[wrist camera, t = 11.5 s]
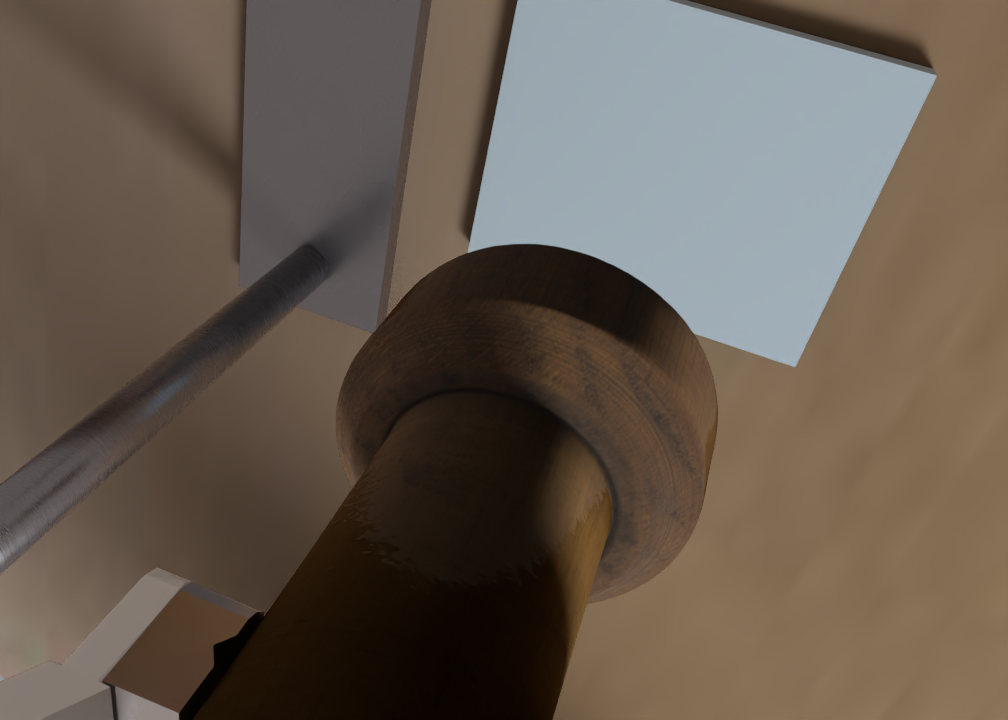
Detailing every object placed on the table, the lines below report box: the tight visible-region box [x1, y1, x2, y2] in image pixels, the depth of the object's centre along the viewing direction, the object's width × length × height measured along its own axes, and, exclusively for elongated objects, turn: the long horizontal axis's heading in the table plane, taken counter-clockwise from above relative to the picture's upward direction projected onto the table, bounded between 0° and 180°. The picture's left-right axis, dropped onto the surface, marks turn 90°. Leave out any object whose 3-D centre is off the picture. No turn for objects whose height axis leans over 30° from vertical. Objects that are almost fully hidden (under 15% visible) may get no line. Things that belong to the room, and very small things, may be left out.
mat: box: [468, 0, 937, 367], centre depth 27 cm, size 12×10×1 cm
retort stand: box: [0, 0, 431, 574], centre depth 21 cm, size 6×19×21 cm, turn 170°
